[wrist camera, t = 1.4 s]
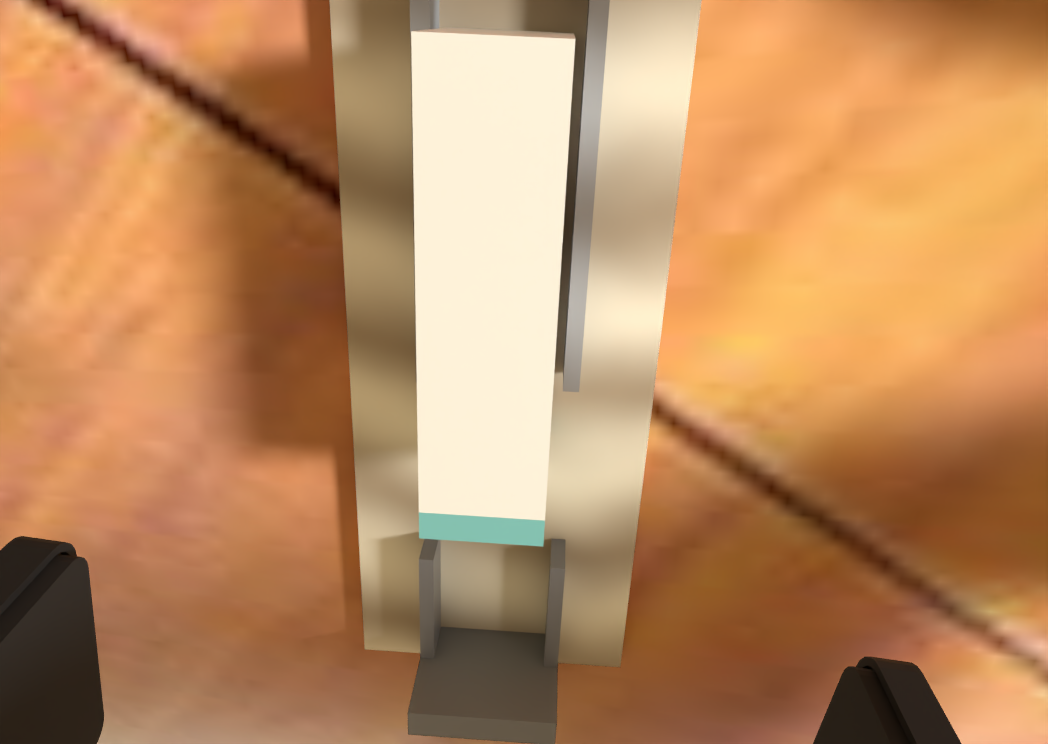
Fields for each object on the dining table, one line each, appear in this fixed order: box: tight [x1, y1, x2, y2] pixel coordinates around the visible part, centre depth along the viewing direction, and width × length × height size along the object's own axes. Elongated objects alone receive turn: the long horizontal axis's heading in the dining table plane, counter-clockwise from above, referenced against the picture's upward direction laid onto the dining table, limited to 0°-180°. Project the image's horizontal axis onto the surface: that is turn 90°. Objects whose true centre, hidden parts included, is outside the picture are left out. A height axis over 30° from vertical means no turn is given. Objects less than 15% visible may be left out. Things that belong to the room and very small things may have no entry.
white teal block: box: [411, 27, 575, 546], centre depth 25 cm, size 15×4×7 cm, turn 178°
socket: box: [408, 539, 565, 744], centre depth 33 cm, size 6×6×5 cm
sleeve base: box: [329, 0, 702, 667], centre depth 30 cm, size 30×12×3 cm, turn 178°
